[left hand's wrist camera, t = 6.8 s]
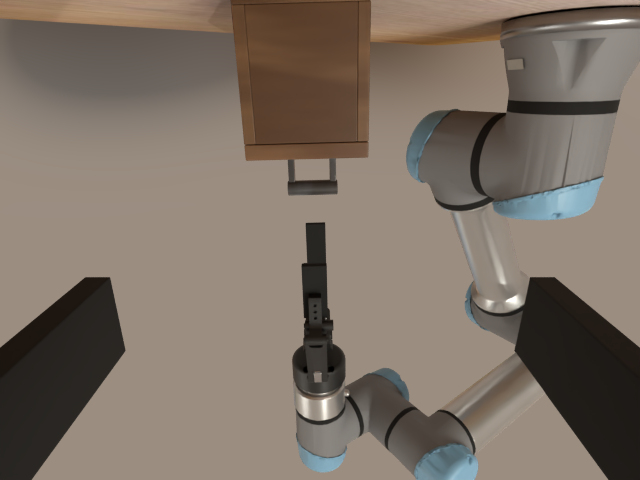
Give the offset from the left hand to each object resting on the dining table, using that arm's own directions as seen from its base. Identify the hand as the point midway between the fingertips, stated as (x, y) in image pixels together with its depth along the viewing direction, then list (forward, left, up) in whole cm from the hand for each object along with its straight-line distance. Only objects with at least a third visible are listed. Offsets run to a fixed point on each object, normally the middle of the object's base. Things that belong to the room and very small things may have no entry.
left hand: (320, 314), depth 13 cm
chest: (+22, -18, -13) cm, 32 cm away
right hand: (+28, -22, +12) cm, 37 cm away
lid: (+23, -19, -3) cm, 30 cm away
